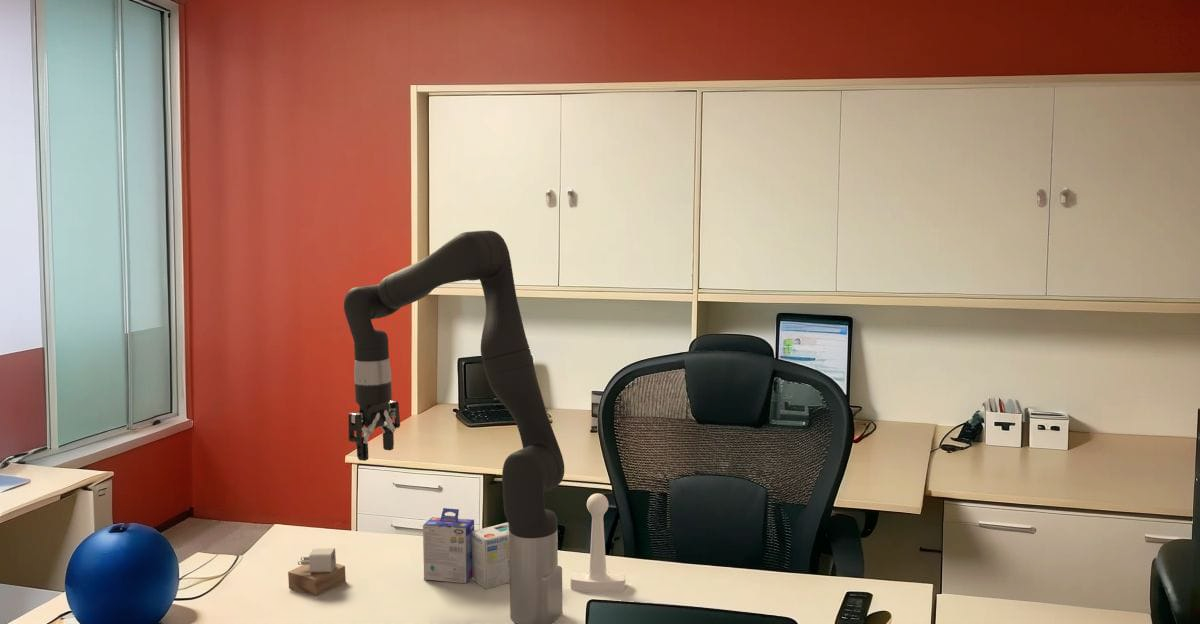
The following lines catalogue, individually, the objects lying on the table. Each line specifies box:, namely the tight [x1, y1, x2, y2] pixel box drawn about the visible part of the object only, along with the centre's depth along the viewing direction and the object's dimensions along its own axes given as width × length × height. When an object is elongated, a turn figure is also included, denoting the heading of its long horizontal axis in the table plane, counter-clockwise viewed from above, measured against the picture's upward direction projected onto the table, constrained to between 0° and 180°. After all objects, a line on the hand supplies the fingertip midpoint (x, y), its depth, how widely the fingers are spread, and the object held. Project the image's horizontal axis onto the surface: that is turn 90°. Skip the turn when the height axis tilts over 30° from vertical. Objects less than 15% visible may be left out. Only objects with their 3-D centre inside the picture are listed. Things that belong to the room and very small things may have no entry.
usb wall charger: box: [297, 547, 337, 573], centre depth 189 cm, size 4×7×4 cm, turn 93°
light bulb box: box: [471, 521, 510, 590], centre depth 193 cm, size 11×7×11 cm, turn 126°
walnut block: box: [287, 563, 347, 597], centre depth 190 cm, size 8×8×4 cm
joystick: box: [570, 492, 626, 594], centre depth 189 cm, size 11×8×20 cm
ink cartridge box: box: [422, 507, 475, 584], centre depth 193 cm, size 10×6×14 cm, turn 78°
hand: (376, 454), depth 195 cm, fingers open, 8 cm apart
